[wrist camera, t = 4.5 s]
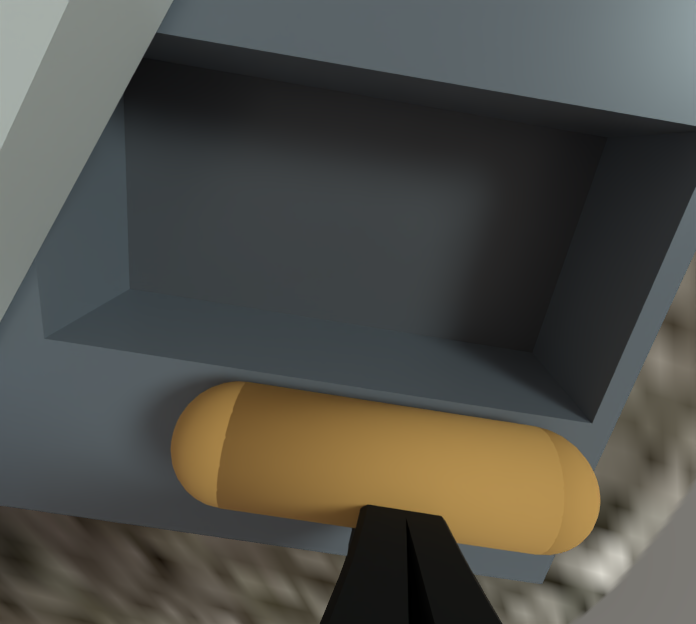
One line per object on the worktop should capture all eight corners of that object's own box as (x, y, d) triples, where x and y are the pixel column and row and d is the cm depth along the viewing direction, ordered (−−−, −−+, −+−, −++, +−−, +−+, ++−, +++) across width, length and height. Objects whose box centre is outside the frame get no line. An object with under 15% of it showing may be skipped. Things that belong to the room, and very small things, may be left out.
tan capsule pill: (606, 595, 8) (648, 479, 7) (143, 528, 7) (151, 403, 7) (546, 507, 10) (574, 414, 9) (193, 454, 10) (201, 356, 9)
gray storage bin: (496, 475, 15) (541, 583, 11) (39, 406, 14) (-75, 494, 11) (804, -385, 8) (1222, -895, 4) (-83, -566, 7) (-554, -1326, 4)
